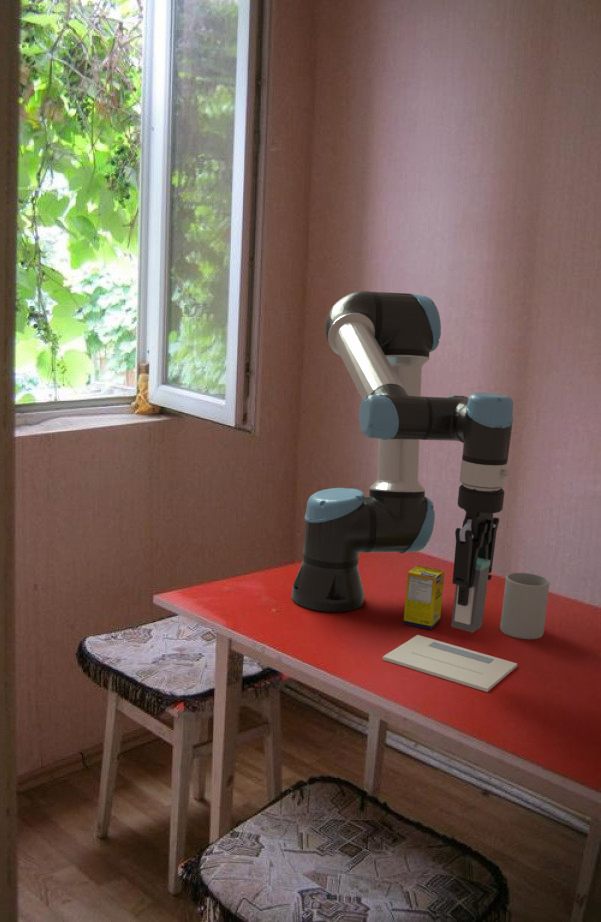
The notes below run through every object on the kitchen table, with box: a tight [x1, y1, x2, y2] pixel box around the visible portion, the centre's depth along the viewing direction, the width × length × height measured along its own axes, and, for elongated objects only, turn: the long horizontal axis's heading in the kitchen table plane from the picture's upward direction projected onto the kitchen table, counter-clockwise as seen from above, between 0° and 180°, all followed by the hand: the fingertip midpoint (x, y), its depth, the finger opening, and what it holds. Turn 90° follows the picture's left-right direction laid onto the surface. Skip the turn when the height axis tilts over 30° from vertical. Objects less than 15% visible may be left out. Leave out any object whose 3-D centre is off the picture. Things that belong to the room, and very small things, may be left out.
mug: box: [499, 572, 550, 640], centre depth 191 cm, size 12×8×11 cm
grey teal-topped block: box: [450, 557, 490, 633], centre depth 163 cm, size 4×4×12 cm
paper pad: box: [382, 634, 518, 693], centre depth 172 cm, size 20×14×1 cm
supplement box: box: [403, 564, 446, 630], centre depth 190 cm, size 6×6×11 cm
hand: (468, 618), depth 164 cm, fingers closed on grey teal-topped block, 4 cm apart
